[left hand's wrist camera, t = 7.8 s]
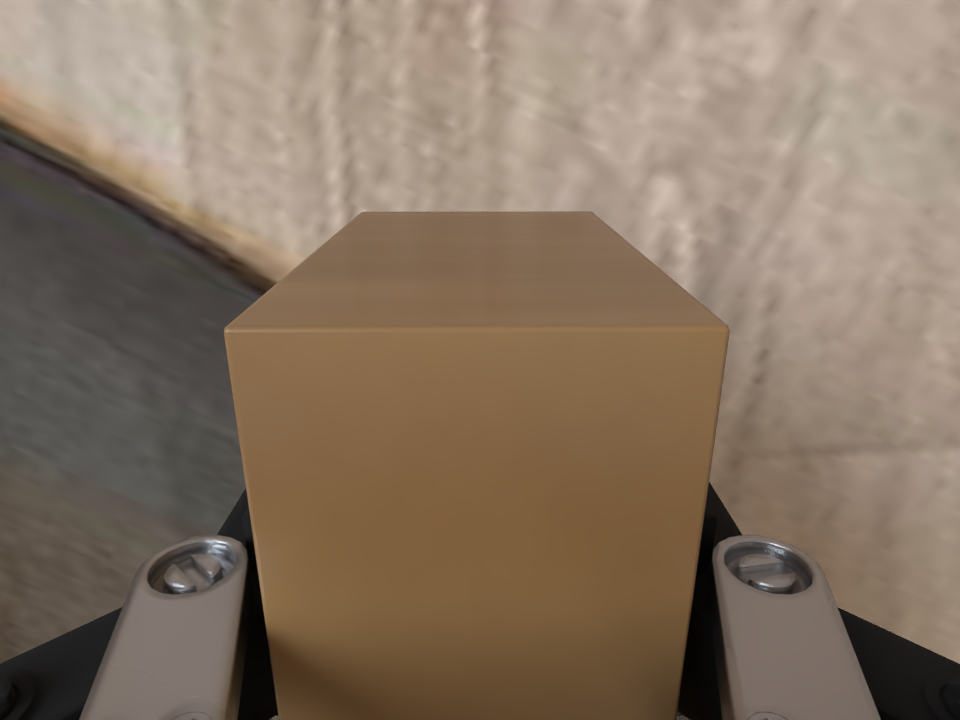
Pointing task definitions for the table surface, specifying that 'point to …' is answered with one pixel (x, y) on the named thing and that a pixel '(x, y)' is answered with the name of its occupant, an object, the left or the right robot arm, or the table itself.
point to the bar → (477, 469)
